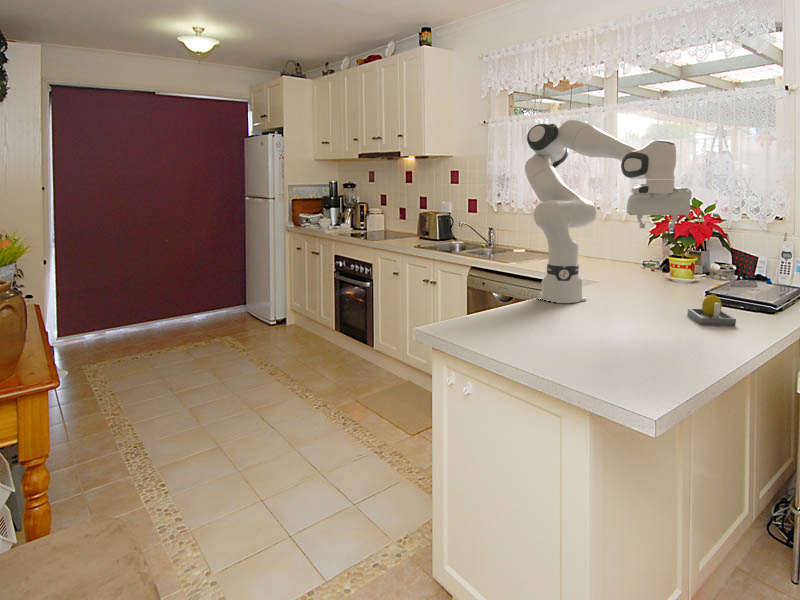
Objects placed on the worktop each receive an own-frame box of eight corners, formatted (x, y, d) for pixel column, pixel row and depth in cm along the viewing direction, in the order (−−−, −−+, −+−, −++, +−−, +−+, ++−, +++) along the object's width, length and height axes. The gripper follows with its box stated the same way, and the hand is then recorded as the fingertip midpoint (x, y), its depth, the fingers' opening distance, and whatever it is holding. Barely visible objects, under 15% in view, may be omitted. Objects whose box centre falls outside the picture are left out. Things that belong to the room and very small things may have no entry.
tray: (687, 315, 189) (689, 295, 188) (719, 316, 188) (721, 296, 186) (700, 325, 176) (702, 304, 175) (735, 326, 174) (737, 305, 173)
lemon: (703, 319, 180) (705, 295, 178) (699, 315, 185) (701, 292, 183) (722, 320, 178) (724, 296, 176) (717, 316, 183) (719, 292, 182)
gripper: (689, 187, 192) (685, 227, 195) (627, 188, 196) (624, 227, 199) (695, 187, 186) (691, 228, 189) (630, 188, 190) (627, 229, 193)
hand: (656, 228), depth 194 cm, fingers open, 8 cm apart
